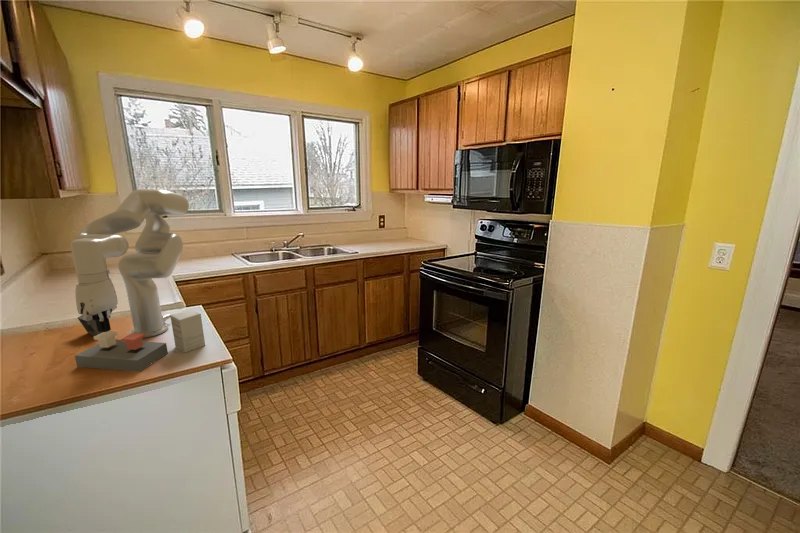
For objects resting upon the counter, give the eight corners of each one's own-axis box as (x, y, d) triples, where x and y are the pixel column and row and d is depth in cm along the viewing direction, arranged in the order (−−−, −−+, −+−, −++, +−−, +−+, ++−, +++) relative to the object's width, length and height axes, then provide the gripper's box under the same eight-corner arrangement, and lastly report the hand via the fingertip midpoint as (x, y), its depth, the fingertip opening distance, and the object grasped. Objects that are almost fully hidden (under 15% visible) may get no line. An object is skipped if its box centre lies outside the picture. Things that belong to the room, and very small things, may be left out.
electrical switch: (111, 333, 137) (104, 312, 134) (96, 340, 132) (88, 318, 129) (98, 329, 141) (90, 308, 138) (82, 335, 136) (74, 314, 133)
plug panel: (110, 349, 125) (108, 338, 124) (167, 353, 123) (166, 342, 122) (77, 366, 113) (74, 355, 112) (139, 371, 111) (137, 360, 110)
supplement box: (195, 339, 133) (191, 308, 130) (205, 345, 129) (201, 313, 126) (174, 347, 127) (169, 314, 124) (184, 353, 123) (179, 319, 120)
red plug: (134, 343, 119) (132, 332, 118) (146, 344, 118) (144, 333, 117) (123, 350, 114) (121, 338, 113) (135, 350, 114) (133, 339, 113)
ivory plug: (108, 341, 120) (105, 331, 119) (119, 342, 119) (117, 331, 118) (95, 347, 115) (93, 336, 114) (108, 348, 115) (105, 337, 114)
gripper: (104, 271, 119) (114, 321, 123) (58, 283, 105) (71, 340, 109) (124, 271, 118) (133, 322, 123) (80, 284, 104) (93, 341, 108)
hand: (104, 330), depth 116 cm, fingers closed
